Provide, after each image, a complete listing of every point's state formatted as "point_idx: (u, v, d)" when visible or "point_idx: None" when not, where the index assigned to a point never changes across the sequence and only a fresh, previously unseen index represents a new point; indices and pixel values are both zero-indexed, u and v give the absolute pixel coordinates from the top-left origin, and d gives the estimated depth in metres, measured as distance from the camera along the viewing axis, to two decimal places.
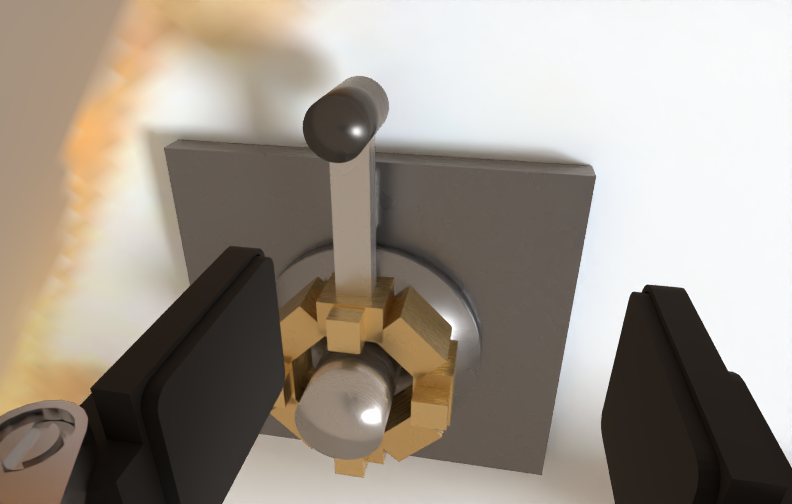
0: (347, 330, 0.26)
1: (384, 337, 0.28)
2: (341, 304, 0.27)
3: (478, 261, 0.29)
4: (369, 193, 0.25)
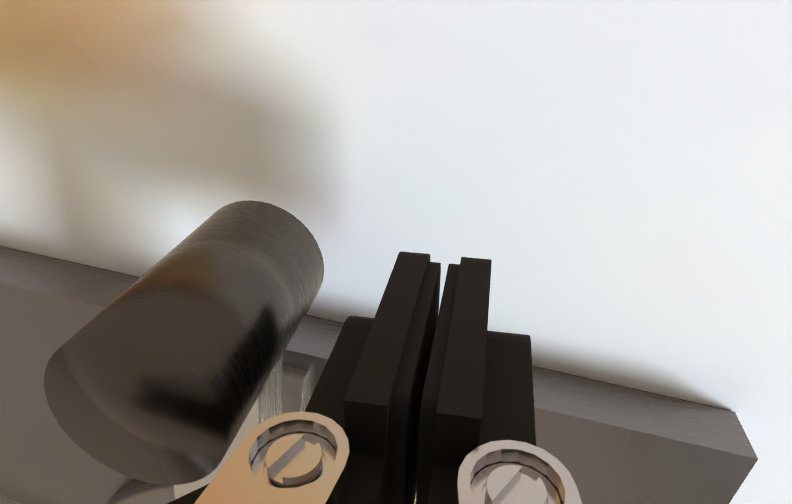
0: None
1: None
2: None
3: None
4: None
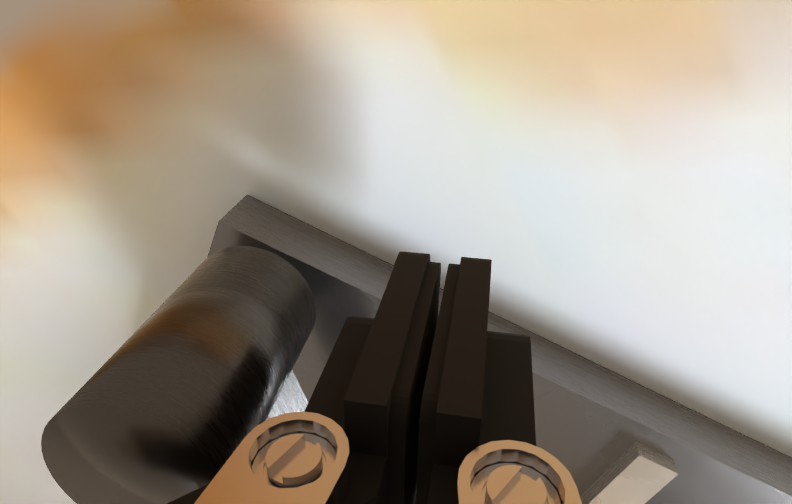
0: None
1: None
2: None
3: None
4: None
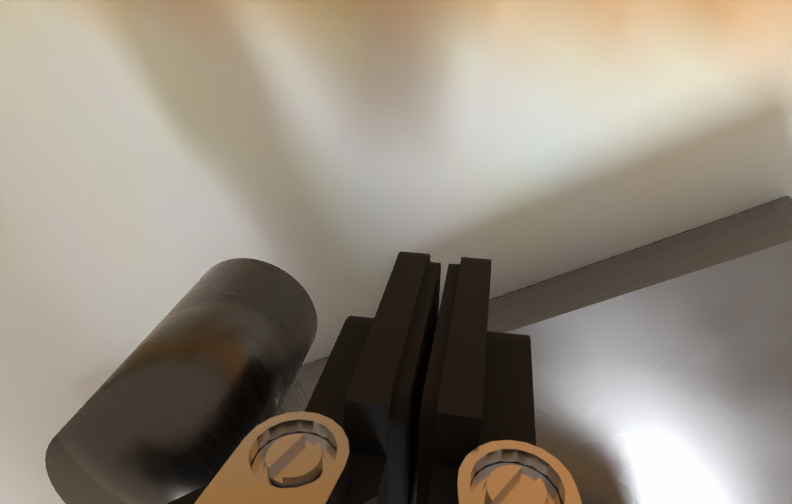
0: None
1: None
2: None
3: None
4: None
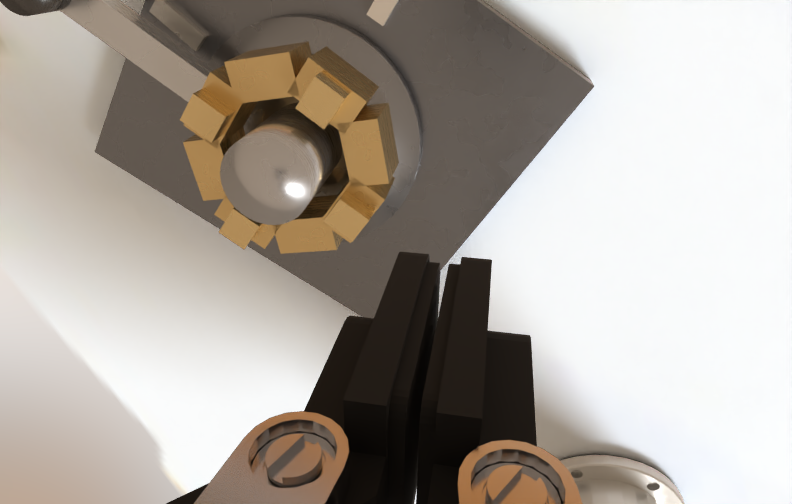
0: (196, 109, 0.27)
1: (240, 91, 0.27)
2: None
3: (453, 111, 0.30)
4: (115, 10, 0.27)
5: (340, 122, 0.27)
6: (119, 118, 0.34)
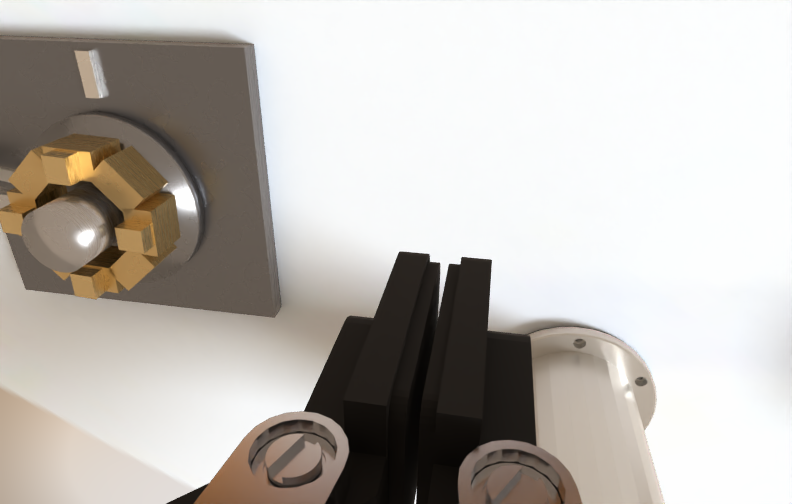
0: (6, 219, 0.37)
1: (28, 193, 0.37)
2: None
3: (181, 124, 0.38)
4: None
5: (88, 176, 0.36)
6: (22, 258, 0.46)
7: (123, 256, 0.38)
